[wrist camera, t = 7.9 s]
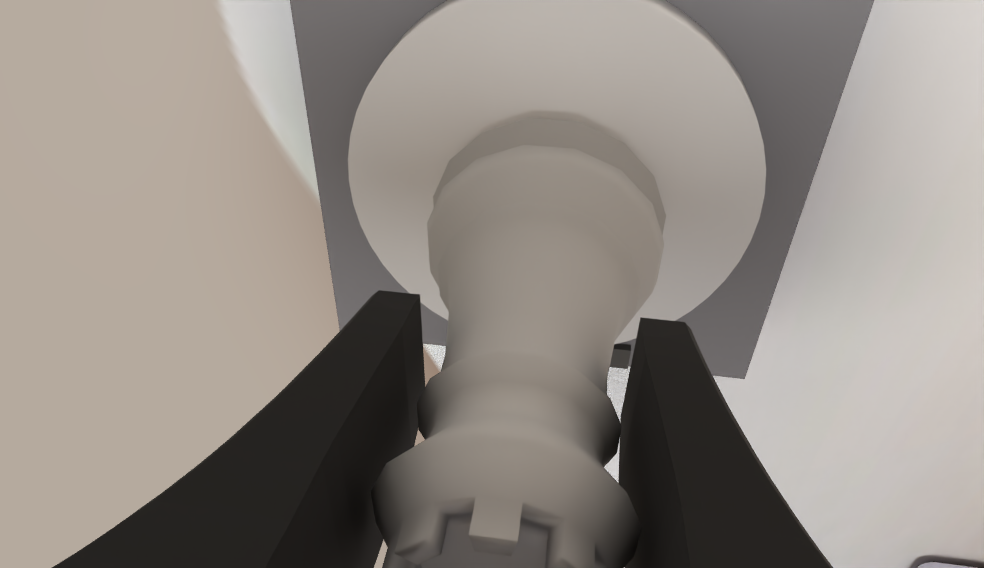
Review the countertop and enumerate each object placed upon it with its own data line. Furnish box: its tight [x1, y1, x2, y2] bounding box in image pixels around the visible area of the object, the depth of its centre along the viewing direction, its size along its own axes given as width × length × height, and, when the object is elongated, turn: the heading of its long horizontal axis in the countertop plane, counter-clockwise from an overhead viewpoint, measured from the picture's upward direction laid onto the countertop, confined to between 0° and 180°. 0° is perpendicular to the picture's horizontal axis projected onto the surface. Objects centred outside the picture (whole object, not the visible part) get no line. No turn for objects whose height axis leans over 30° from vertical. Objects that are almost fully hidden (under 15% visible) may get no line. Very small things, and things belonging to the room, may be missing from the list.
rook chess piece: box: [371, 118, 666, 568], centre depth 11 cm, size 4×4×8 cm
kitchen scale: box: [290, 0, 874, 379], centre depth 15 cm, size 10×10×3 cm
